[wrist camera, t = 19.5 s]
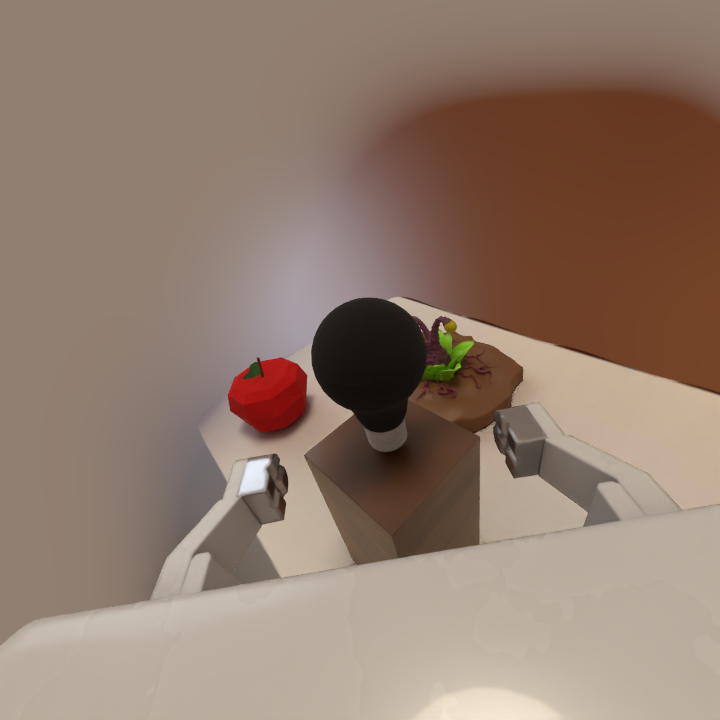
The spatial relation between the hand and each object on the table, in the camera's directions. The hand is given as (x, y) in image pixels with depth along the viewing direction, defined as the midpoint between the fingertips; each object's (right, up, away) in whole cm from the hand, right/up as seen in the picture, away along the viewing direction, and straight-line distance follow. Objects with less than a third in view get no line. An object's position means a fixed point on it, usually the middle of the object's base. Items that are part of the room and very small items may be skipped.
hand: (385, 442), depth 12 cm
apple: (-13, -5, +37) cm, 39 cm away
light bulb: (+1, -3, +9) cm, 9 cm away
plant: (+10, -1, +35) cm, 36 cm away
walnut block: (+4, -14, +17) cm, 23 cm away
